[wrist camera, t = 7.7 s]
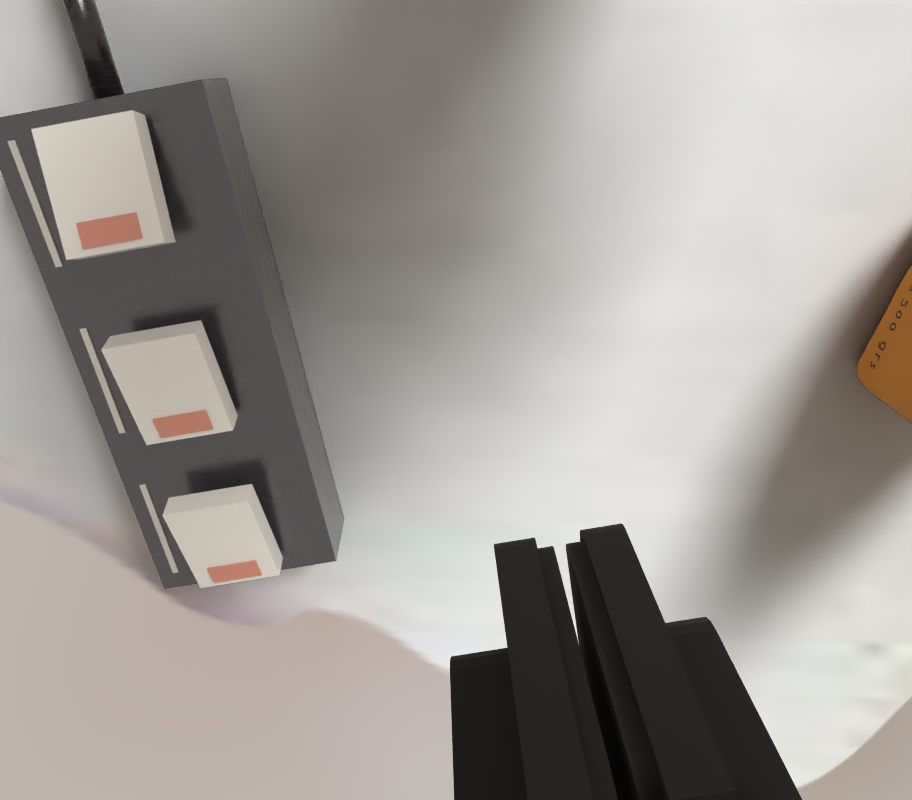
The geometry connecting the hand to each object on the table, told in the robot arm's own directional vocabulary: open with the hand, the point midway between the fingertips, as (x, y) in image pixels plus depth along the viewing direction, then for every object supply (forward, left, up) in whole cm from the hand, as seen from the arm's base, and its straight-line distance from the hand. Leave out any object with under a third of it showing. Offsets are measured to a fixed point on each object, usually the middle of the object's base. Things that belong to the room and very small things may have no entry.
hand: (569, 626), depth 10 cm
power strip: (0, -14, -29) cm, 32 cm away
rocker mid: (+4, -14, -25) cm, 29 cm away
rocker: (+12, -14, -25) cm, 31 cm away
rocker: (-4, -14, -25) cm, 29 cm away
